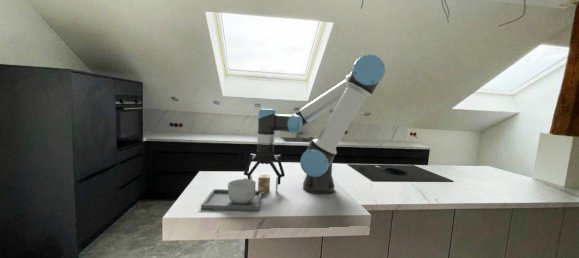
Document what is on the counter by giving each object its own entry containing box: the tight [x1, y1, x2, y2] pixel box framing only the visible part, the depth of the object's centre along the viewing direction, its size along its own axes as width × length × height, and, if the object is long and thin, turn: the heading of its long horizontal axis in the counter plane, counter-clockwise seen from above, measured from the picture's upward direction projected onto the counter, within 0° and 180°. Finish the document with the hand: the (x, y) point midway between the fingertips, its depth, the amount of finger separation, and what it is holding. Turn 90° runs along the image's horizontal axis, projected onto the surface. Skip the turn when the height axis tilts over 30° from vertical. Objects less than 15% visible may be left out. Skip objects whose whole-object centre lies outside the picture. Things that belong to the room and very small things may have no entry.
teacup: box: [227, 177, 257, 205], centre depth 105 cm, size 14×11×8 cm
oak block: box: [257, 174, 271, 194], centre depth 119 cm, size 5×5×7 cm
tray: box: [200, 188, 263, 212], centre depth 105 cm, size 21×18×2 cm
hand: (263, 190), depth 119 cm, fingers open, 11 cm apart
